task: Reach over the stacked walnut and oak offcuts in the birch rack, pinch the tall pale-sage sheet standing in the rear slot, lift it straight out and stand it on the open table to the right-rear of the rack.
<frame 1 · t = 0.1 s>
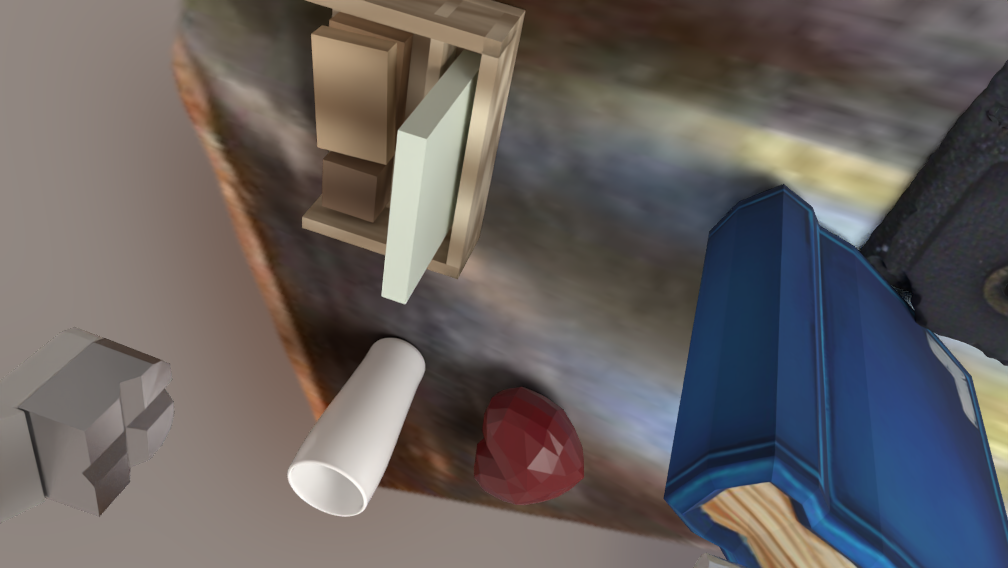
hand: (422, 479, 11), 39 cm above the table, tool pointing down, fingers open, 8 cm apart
offcut low: (372, 79, 51), point 1 cm above the table, touching offcut top, rack
drinking glass: (400, 354, 70), on the table
offcut small: (366, 170, 56), point 1 cm above the table, touching rack
sheet: (462, 135, 52), point 1 cm above the table, touching rack
rack: (417, 111, 53), on the table
book: (833, 292, 53), on the table
offcut top: (360, 92, 50), point 3 cm above the table, touching offcut low
heart: (542, 418, 70), on the table
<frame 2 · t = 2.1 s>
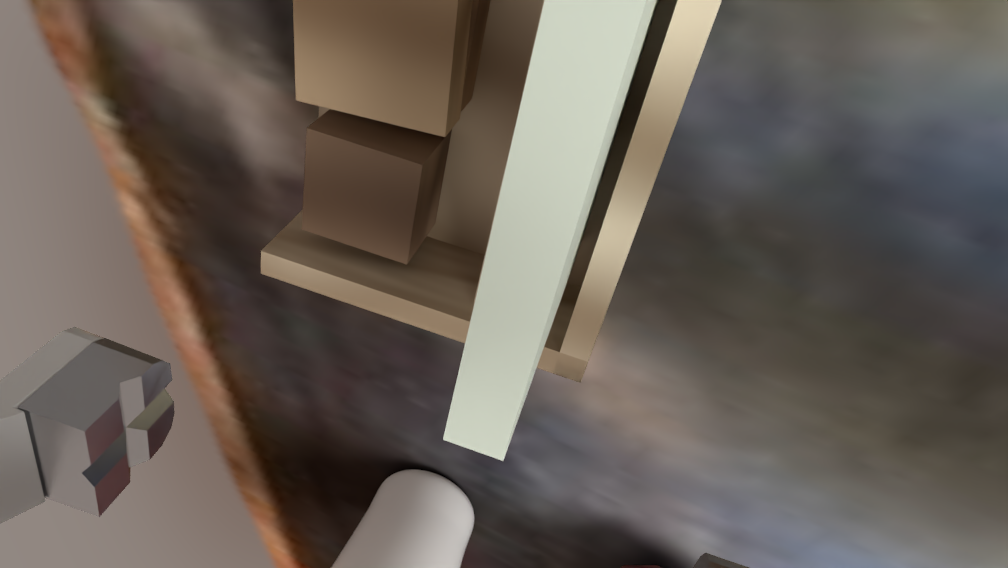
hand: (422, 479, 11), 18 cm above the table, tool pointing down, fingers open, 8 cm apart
drinking glass: (430, 496, 41), on the table
offcut small: (392, 161, 28), point 1 cm above the table, touching rack
sheet: (607, 79, 24), point 1 cm above the table, touching rack
rack: (507, 35, 26), on the table
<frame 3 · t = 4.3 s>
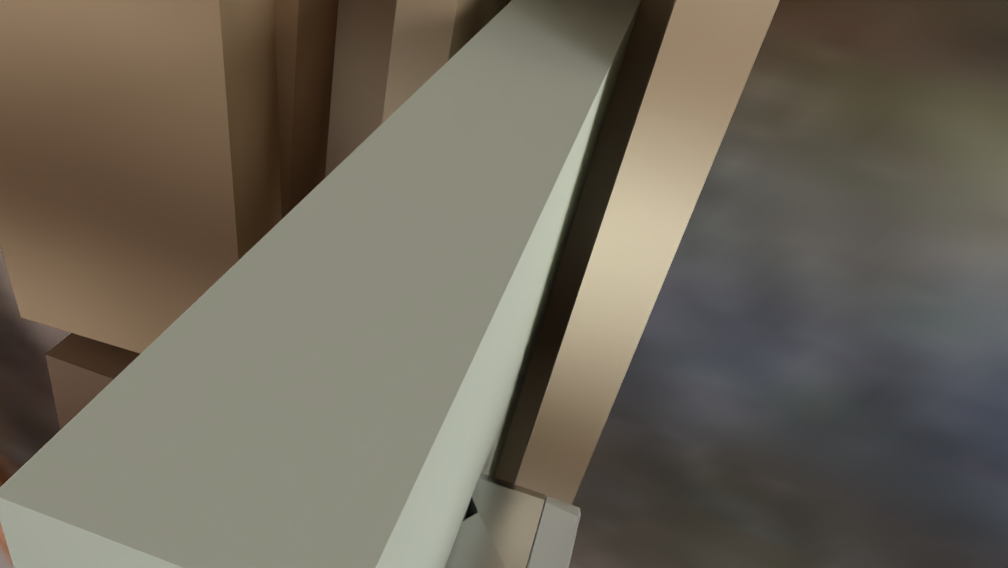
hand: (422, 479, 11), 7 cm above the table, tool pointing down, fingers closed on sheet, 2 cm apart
offcut low: (210, 95, 15), point 1 cm above the table, touching offcut top, rack
offcut small: (216, 366, 19), point 1 cm above the table, touching rack
sheet: (512, 283, 16), point 1 cm above the table, touching gripper, rack
rack: (366, 201, 17), on the table
offcut top: (154, 135, 14), point 3 cm above the table, touching offcut low
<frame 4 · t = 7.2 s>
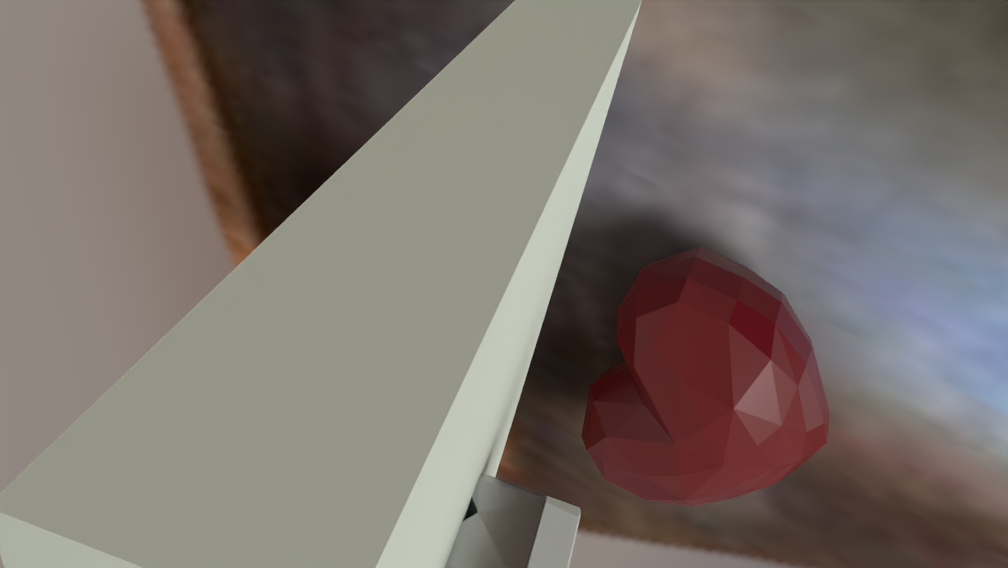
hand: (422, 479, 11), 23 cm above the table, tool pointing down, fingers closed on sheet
sheet: (512, 286, 16), point 17 cm above the table, touching gripper
heart: (714, 338, 36), on the table
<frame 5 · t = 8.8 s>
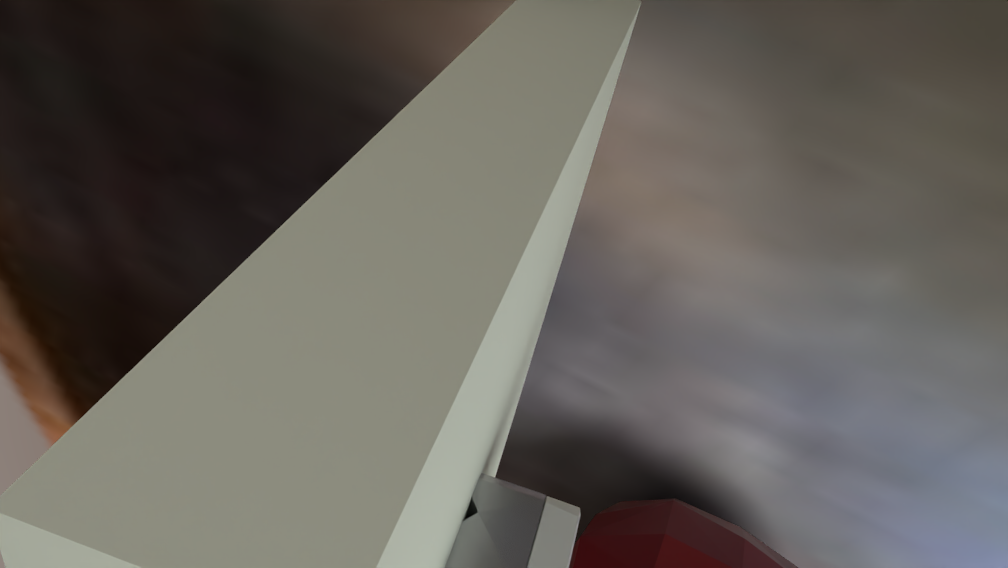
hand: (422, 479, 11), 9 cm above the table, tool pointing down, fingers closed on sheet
sheet: (512, 286, 16), point 4 cm above the table, touching gripper
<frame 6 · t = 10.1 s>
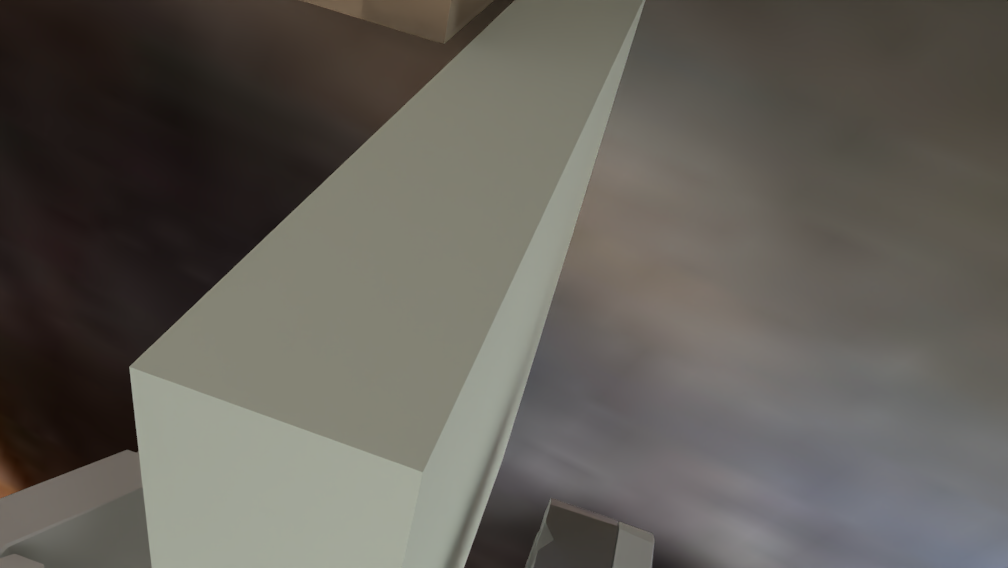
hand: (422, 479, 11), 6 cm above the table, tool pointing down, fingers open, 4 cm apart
sheet: (524, 262, 16), on the table
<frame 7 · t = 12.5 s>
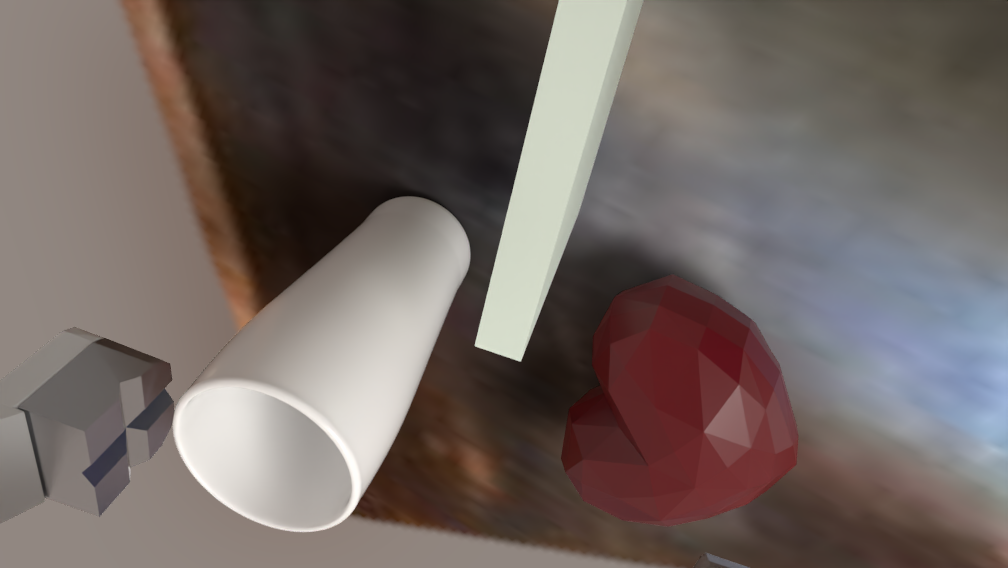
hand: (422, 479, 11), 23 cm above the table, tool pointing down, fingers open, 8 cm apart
drinking glass: (422, 239, 37), on the table
sheet: (598, 79, 31), on the table
heart: (689, 362, 37), on the table
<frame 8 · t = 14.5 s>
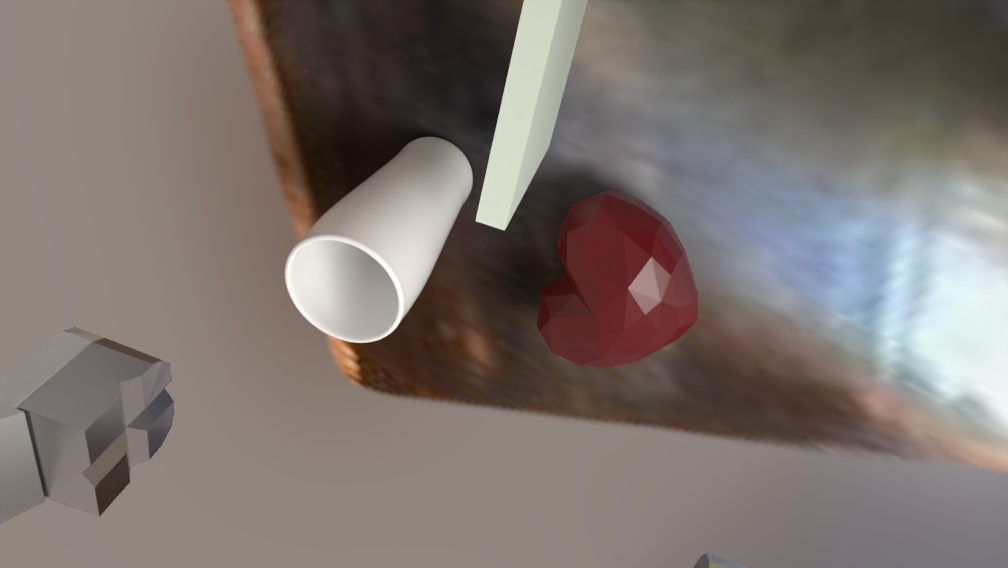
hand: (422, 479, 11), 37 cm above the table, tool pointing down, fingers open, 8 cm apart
drinking glass: (438, 169, 51), on the table
sheet: (560, 52, 45), on the table
heart: (630, 257, 51), on the table
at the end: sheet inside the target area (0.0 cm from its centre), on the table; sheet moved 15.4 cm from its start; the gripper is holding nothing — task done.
